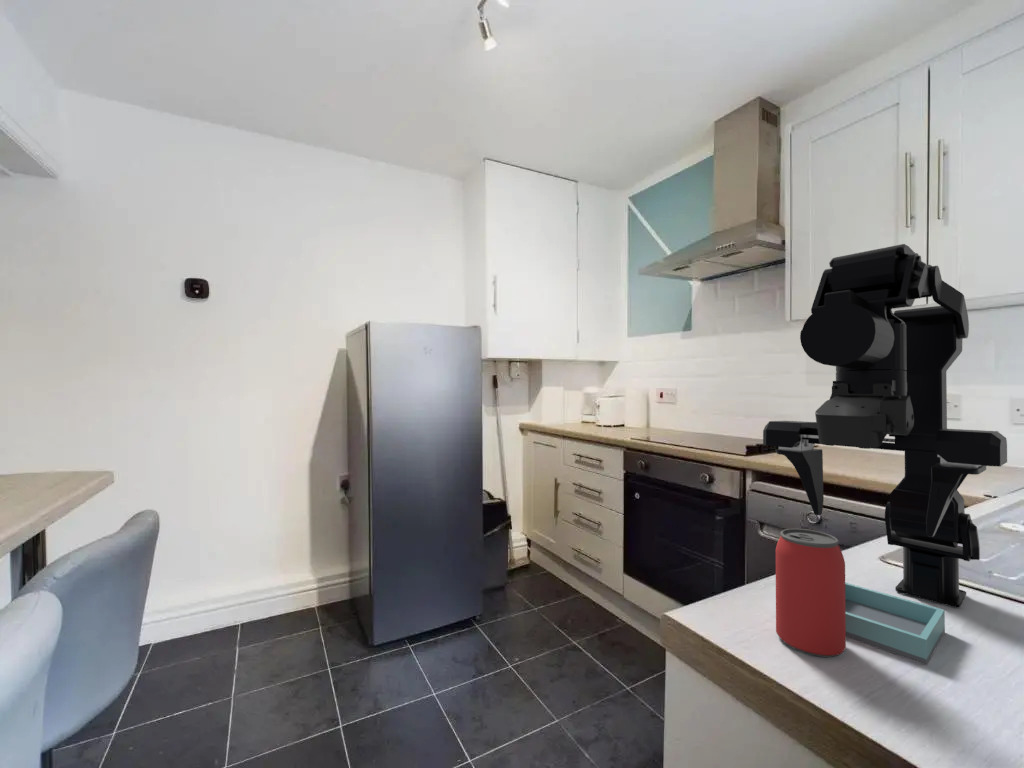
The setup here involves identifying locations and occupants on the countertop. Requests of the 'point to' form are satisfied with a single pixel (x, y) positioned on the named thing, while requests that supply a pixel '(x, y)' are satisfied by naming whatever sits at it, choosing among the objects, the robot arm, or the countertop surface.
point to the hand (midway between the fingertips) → (870, 524)
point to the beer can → (810, 592)
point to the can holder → (893, 623)
